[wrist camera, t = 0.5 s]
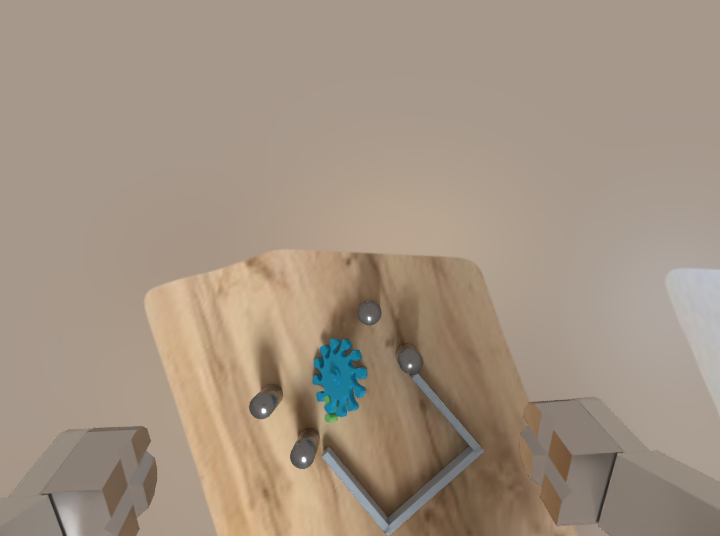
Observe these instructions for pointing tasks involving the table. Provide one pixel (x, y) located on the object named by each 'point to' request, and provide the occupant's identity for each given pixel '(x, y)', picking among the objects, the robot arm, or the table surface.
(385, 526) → the u-shaped bent rod
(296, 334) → the table surface
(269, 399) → the spacer posts
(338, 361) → the gear
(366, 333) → the table surface
